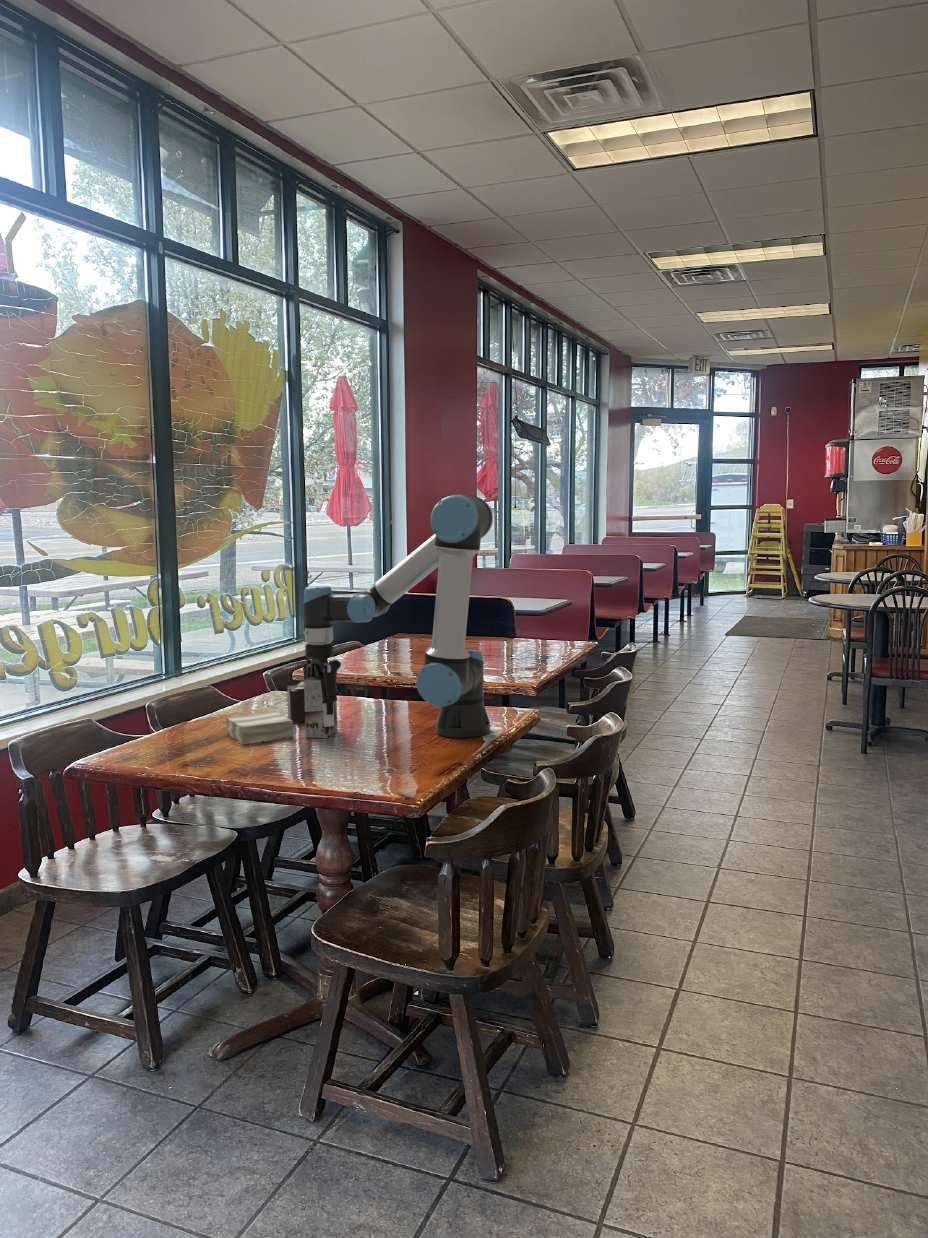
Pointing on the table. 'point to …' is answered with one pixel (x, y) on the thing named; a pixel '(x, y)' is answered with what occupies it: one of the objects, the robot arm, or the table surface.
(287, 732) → the birch block
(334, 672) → the coffee grinder
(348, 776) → the table surface
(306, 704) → the coffee box
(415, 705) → the table surface
